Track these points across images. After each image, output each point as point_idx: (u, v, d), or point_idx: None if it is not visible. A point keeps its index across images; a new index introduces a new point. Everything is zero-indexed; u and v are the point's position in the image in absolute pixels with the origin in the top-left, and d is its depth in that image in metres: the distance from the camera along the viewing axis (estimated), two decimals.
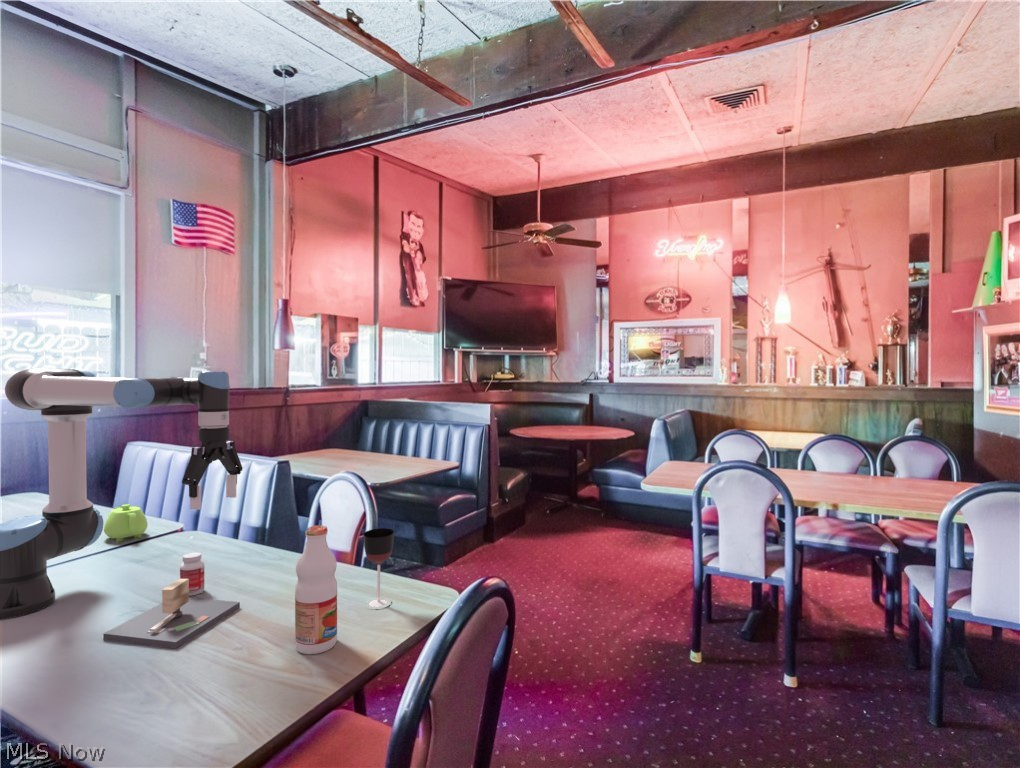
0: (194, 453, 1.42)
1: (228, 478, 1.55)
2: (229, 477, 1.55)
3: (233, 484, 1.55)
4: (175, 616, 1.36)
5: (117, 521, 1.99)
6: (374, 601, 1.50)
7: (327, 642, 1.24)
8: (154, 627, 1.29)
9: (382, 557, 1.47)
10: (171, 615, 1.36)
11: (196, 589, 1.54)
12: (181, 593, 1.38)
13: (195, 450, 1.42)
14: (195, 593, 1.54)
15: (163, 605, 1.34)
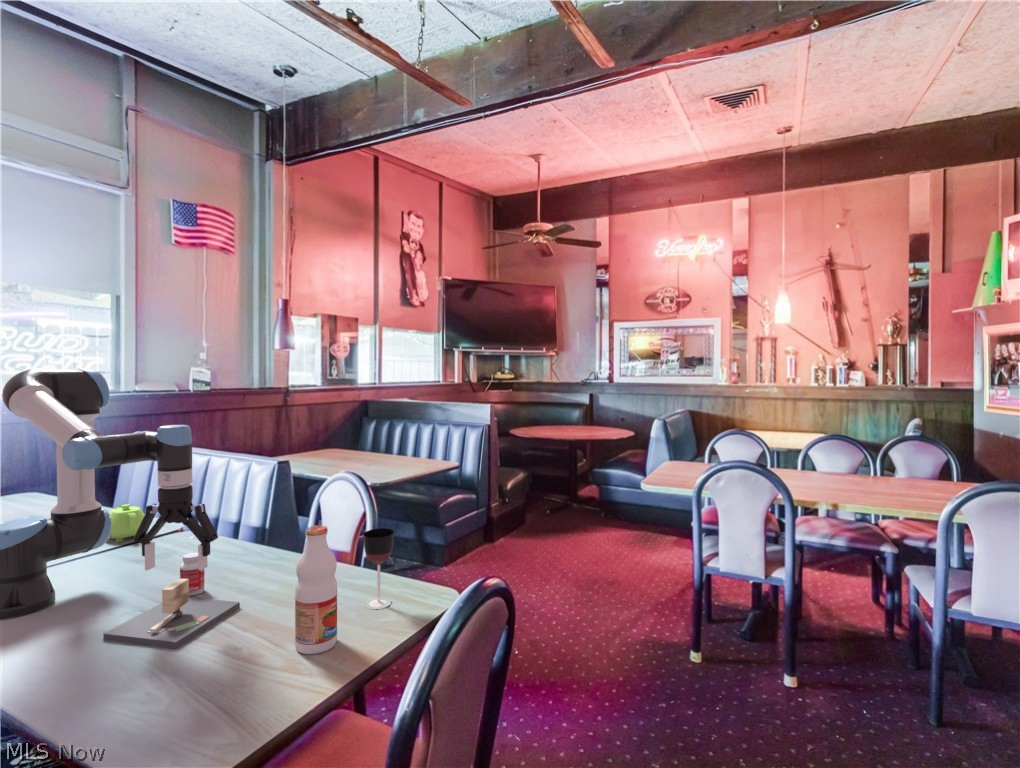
0: None
1: None
2: None
3: None
4: (175, 616, 1.36)
5: (117, 521, 1.99)
6: (374, 601, 1.50)
7: (327, 642, 1.24)
8: (154, 627, 1.29)
9: (382, 557, 1.47)
10: (171, 615, 1.36)
11: (196, 589, 1.54)
12: (181, 593, 1.38)
13: None
14: (195, 593, 1.54)
15: (163, 605, 1.34)
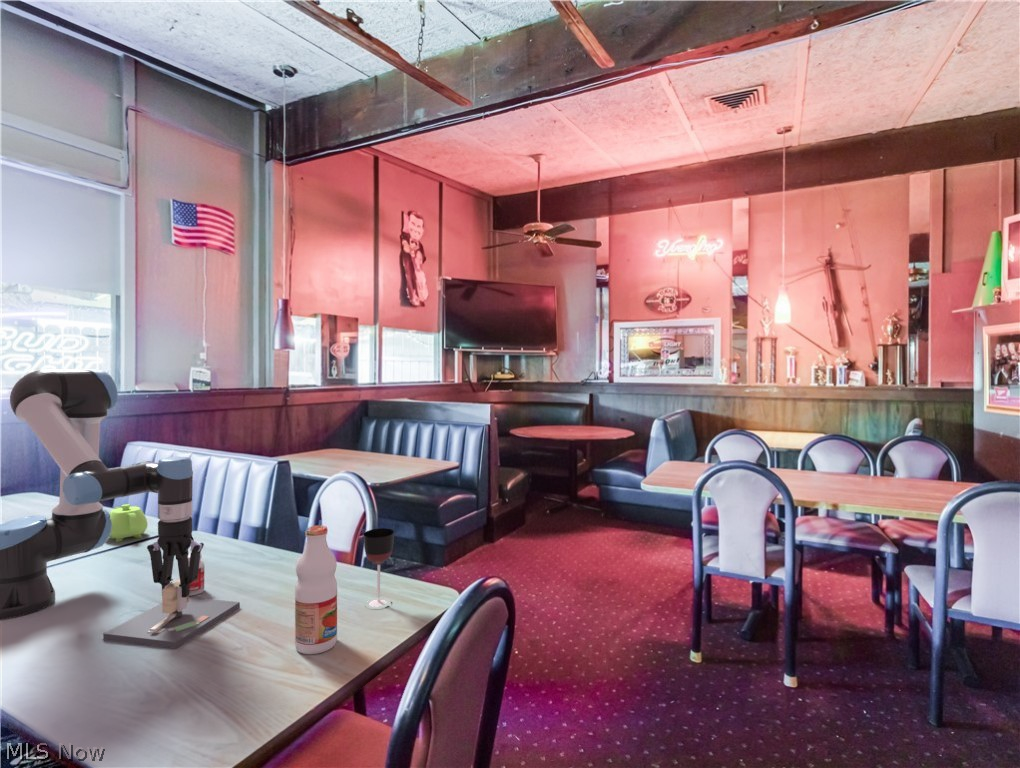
0: None
1: None
2: None
3: None
4: (175, 616, 1.36)
5: (117, 521, 1.99)
6: (374, 601, 1.50)
7: (327, 642, 1.24)
8: (154, 627, 1.29)
9: (382, 557, 1.47)
10: (171, 615, 1.36)
11: (196, 589, 1.54)
12: None
13: None
14: (195, 593, 1.54)
15: (163, 605, 1.34)
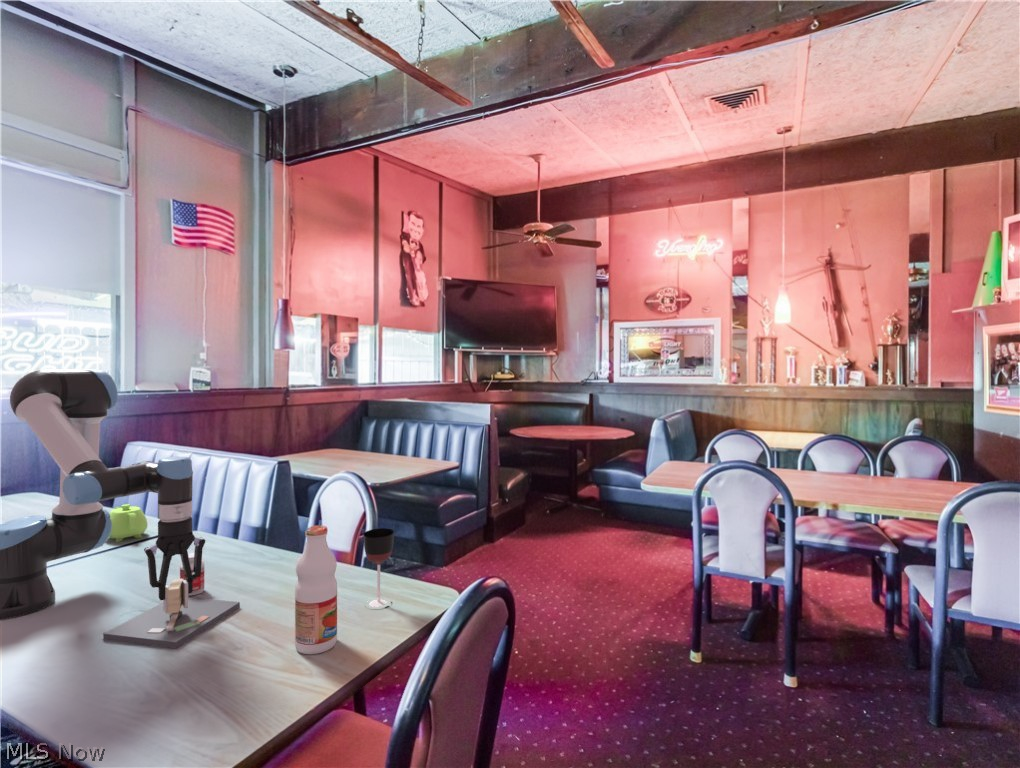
0: None
1: (182, 585, 1.39)
2: (183, 584, 1.39)
3: (184, 593, 1.38)
4: (178, 615, 1.37)
5: (117, 521, 1.99)
6: (374, 601, 1.50)
7: (327, 642, 1.24)
8: (169, 626, 1.30)
9: (382, 557, 1.47)
10: (174, 615, 1.36)
11: (196, 589, 1.54)
12: (181, 592, 1.38)
13: None
14: (195, 593, 1.54)
15: (169, 605, 1.34)
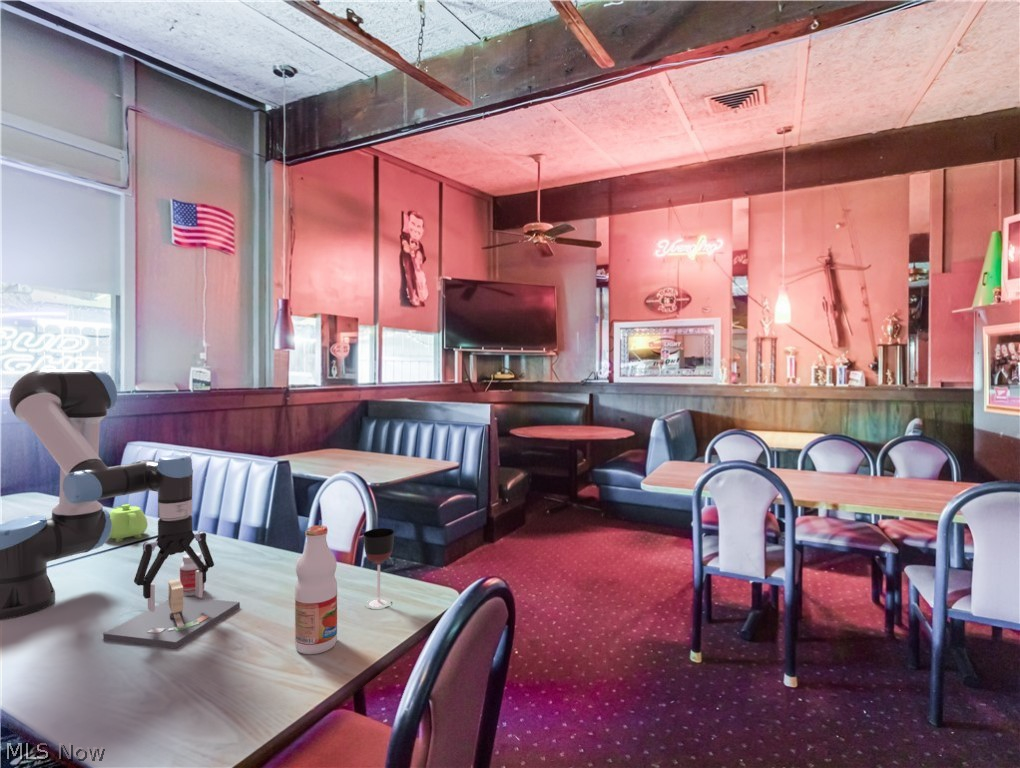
0: (145, 550, 1.32)
1: (196, 575, 1.42)
2: (196, 574, 1.41)
3: (198, 583, 1.41)
4: (179, 615, 1.37)
5: (117, 521, 1.99)
6: (374, 601, 1.50)
7: (327, 642, 1.24)
8: (180, 624, 1.31)
9: (382, 557, 1.47)
10: (177, 614, 1.36)
11: None
12: None
13: (144, 547, 1.32)
14: (195, 593, 1.54)
15: (173, 605, 1.34)
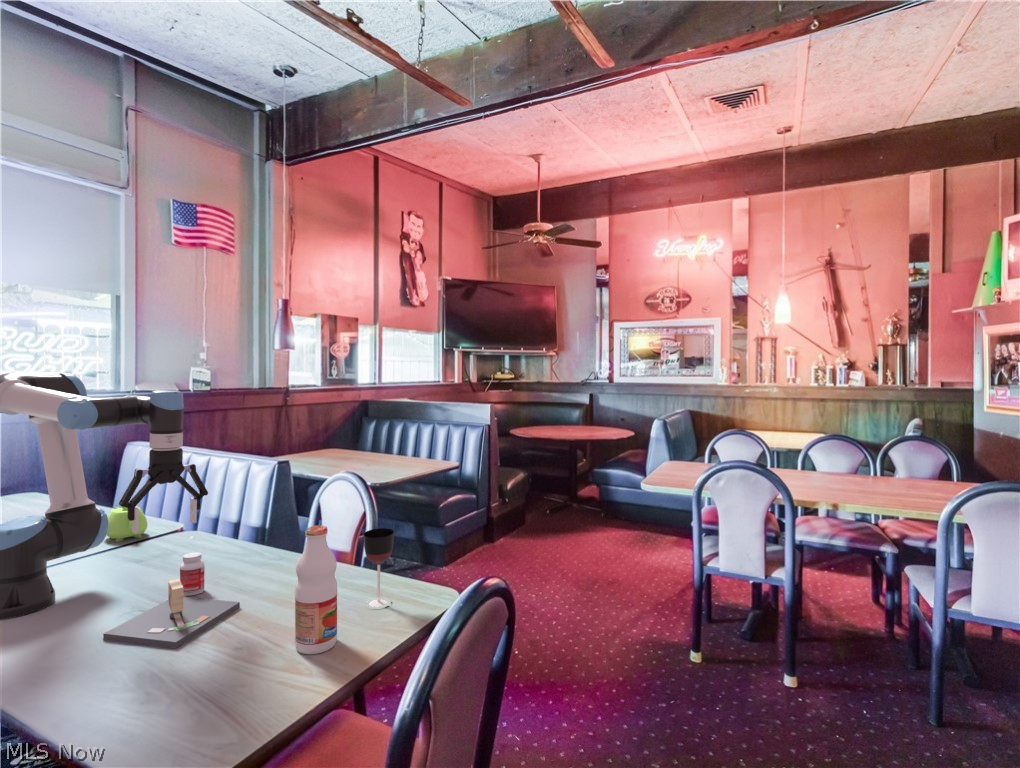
0: (135, 475, 1.39)
1: (191, 502, 1.49)
2: (191, 501, 1.49)
3: (193, 509, 1.48)
4: (179, 615, 1.37)
5: (117, 521, 1.99)
6: (374, 601, 1.50)
7: (327, 642, 1.24)
8: (180, 624, 1.31)
9: (382, 557, 1.47)
10: (177, 614, 1.36)
11: (196, 589, 1.54)
12: None
13: (135, 472, 1.38)
14: (195, 593, 1.54)
15: (173, 605, 1.34)
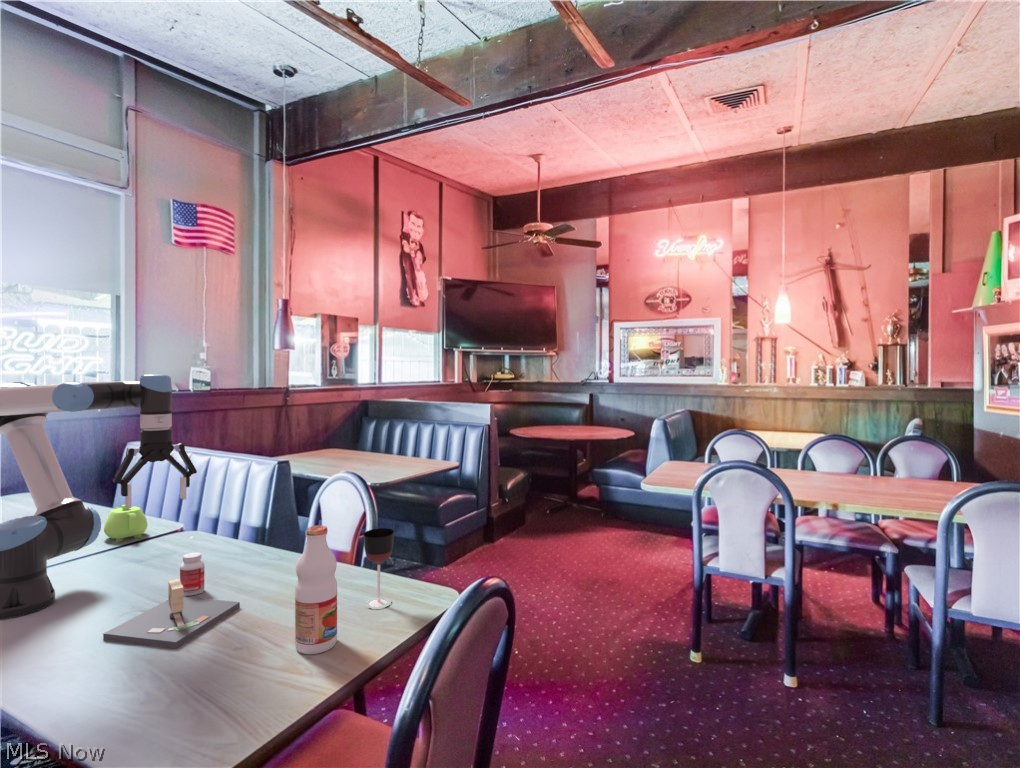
0: (127, 454, 1.48)
1: (180, 480, 1.58)
2: (181, 479, 1.58)
3: (182, 486, 1.57)
4: (179, 615, 1.37)
5: (117, 521, 1.99)
6: (374, 601, 1.50)
7: (327, 642, 1.24)
8: (180, 624, 1.31)
9: (382, 557, 1.47)
10: (177, 614, 1.36)
11: (196, 589, 1.54)
12: None
13: (127, 451, 1.47)
14: (195, 593, 1.54)
15: (173, 605, 1.34)
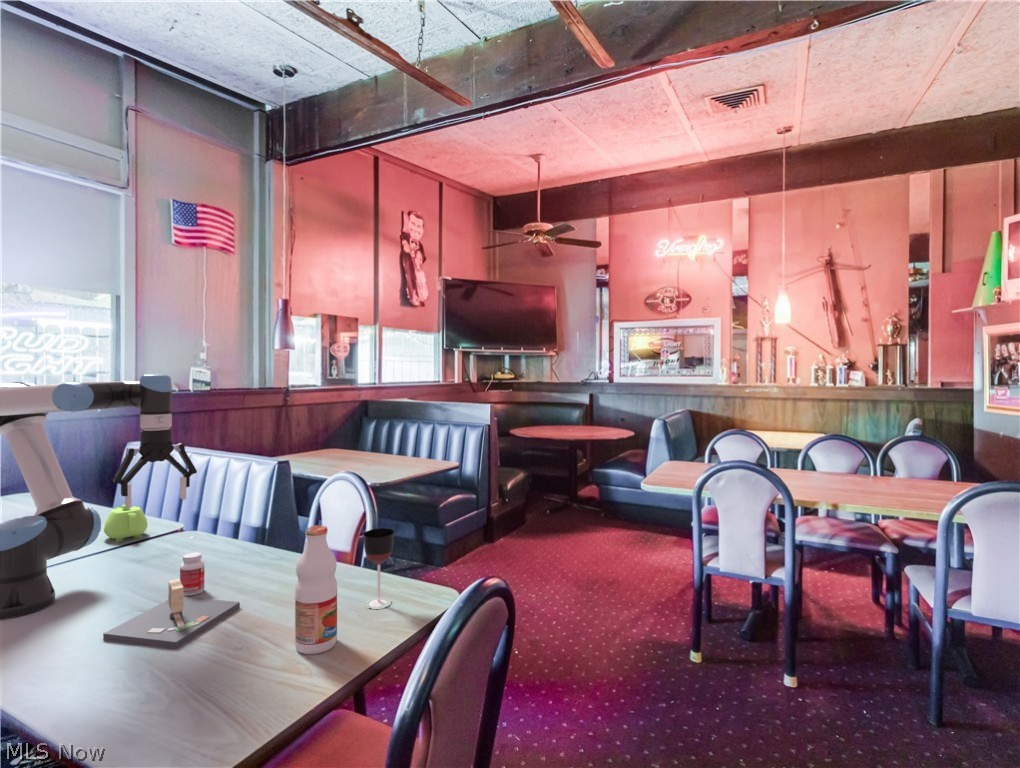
0: (127, 454, 1.48)
1: (181, 480, 1.58)
2: (181, 479, 1.58)
3: (183, 486, 1.57)
4: (179, 615, 1.37)
5: (117, 521, 1.99)
6: (374, 601, 1.50)
7: (327, 642, 1.24)
8: (180, 624, 1.31)
9: (382, 557, 1.47)
10: (177, 614, 1.36)
11: (196, 589, 1.54)
12: None
13: (127, 451, 1.47)
14: (195, 593, 1.54)
15: (173, 605, 1.34)
